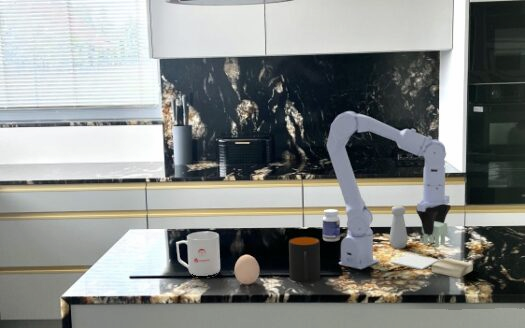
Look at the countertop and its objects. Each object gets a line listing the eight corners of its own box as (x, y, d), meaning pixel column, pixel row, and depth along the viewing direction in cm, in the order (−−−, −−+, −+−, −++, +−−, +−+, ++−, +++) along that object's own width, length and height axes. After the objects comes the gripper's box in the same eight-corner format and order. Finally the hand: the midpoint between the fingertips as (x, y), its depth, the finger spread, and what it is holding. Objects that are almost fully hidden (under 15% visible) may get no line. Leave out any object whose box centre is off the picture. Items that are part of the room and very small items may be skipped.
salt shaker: (394, 243, 192) (394, 203, 190) (411, 245, 188) (411, 205, 186) (385, 247, 187) (385, 207, 185) (402, 250, 184) (402, 209, 182)
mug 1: (220, 267, 172) (219, 230, 171) (220, 278, 164) (218, 238, 162) (179, 269, 172) (177, 232, 170) (176, 280, 163) (174, 240, 162)
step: (459, 277, 157) (459, 270, 157) (431, 271, 162) (431, 264, 162) (472, 270, 163) (472, 263, 162) (445, 264, 168) (445, 257, 168)
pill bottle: (340, 241, 196) (340, 212, 194) (323, 242, 196) (323, 212, 194) (338, 237, 201) (338, 208, 200) (322, 237, 201) (321, 208, 200)
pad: (421, 269, 165) (421, 268, 164) (390, 263, 171) (390, 261, 171) (439, 261, 172) (439, 259, 172) (408, 254, 179) (408, 253, 178)
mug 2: (290, 288, 154) (289, 249, 152) (289, 273, 166) (288, 237, 164) (322, 287, 154) (322, 248, 152) (319, 272, 166) (318, 236, 164)
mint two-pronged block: (437, 248, 162) (438, 227, 161) (421, 244, 166) (422, 224, 165) (446, 244, 166) (447, 223, 165) (430, 241, 169) (430, 220, 168)
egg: (231, 282, 160) (230, 253, 159) (254, 278, 163) (252, 250, 161) (240, 289, 154) (239, 260, 153) (263, 285, 157) (262, 256, 155)
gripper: (434, 189, 156) (433, 239, 158) (459, 181, 166) (458, 229, 168) (410, 186, 161) (410, 235, 163) (436, 179, 171) (435, 225, 173)
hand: (433, 232), depth 166 cm, fingers closed on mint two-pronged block, 5 cm apart
